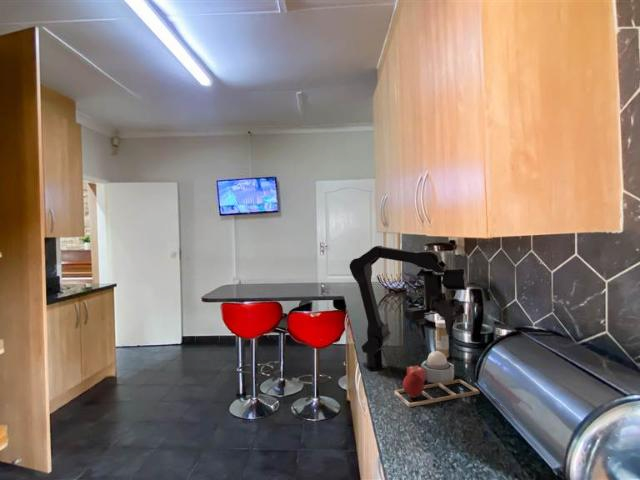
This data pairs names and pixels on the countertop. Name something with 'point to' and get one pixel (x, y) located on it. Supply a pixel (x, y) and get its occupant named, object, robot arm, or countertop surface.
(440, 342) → the sprinkles bottle
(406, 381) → the onion
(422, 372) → the dome base
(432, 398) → the wooden frame with crossbars
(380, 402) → the countertop surface
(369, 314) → the robot arm
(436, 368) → the dome
